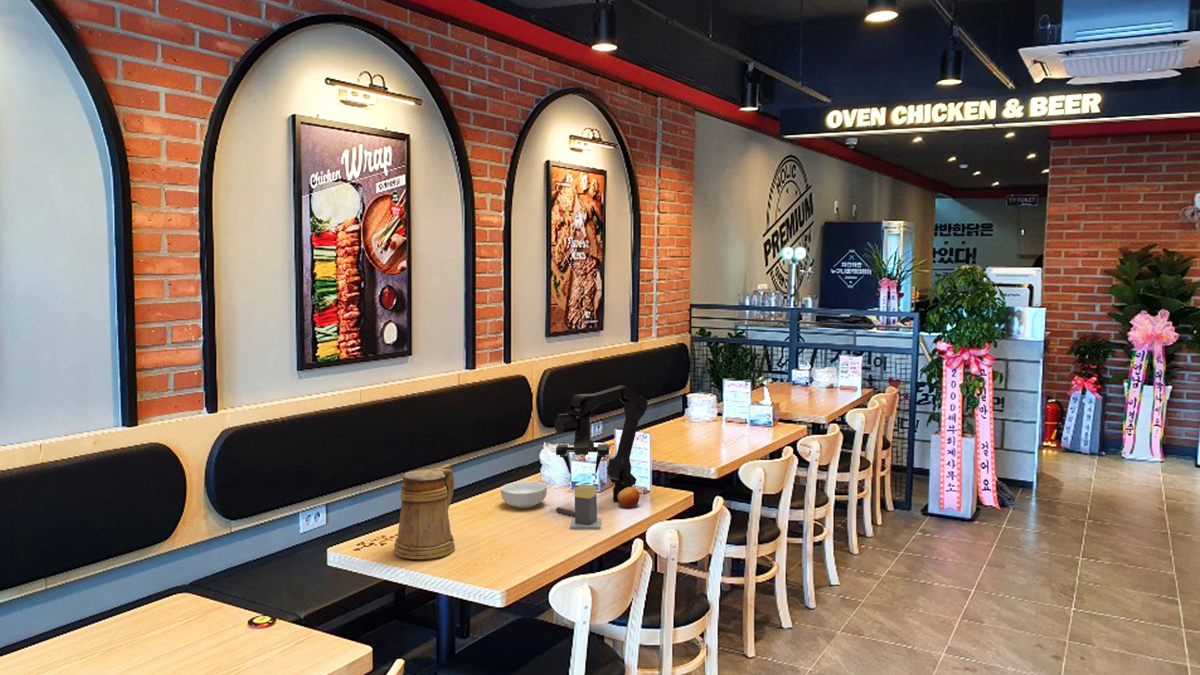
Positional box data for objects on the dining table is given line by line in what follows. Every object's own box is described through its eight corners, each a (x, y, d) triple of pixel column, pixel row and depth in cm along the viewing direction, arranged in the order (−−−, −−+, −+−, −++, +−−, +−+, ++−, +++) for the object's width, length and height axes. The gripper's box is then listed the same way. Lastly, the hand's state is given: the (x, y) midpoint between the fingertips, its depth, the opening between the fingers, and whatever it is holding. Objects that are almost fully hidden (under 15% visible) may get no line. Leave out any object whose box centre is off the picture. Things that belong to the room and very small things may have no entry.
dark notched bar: (554, 512, 315) (554, 507, 315) (558, 511, 316) (558, 506, 316) (581, 520, 305) (581, 515, 305) (586, 519, 306) (585, 513, 306)
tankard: (381, 556, 270) (378, 475, 268) (430, 534, 291) (427, 459, 289) (429, 565, 262) (426, 481, 260) (475, 542, 283) (473, 464, 281)
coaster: (601, 520, 304) (601, 517, 304) (600, 529, 294) (600, 526, 294) (572, 520, 305) (572, 517, 304) (569, 529, 295) (569, 526, 295)
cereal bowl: (504, 499, 333) (504, 480, 333) (549, 499, 332) (548, 480, 332) (497, 512, 316) (497, 492, 316) (544, 512, 316) (544, 492, 315)
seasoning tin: (582, 518, 303) (581, 484, 302) (596, 520, 301) (596, 485, 300) (575, 523, 298) (574, 488, 297) (590, 525, 296) (589, 489, 295)
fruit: (645, 505, 317) (633, 486, 317) (626, 516, 318) (614, 497, 317) (644, 499, 325) (632, 480, 325) (626, 510, 326) (614, 491, 325)
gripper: (554, 434, 308) (554, 479, 310) (607, 434, 307) (608, 479, 309) (557, 428, 319) (557, 471, 321) (609, 428, 318) (609, 471, 320)
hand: (583, 473), depth 317 cm, fingers open, 9 cm apart
